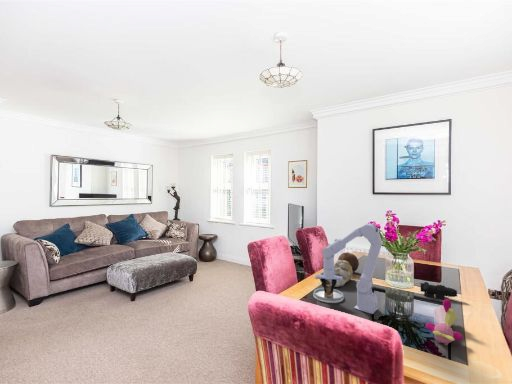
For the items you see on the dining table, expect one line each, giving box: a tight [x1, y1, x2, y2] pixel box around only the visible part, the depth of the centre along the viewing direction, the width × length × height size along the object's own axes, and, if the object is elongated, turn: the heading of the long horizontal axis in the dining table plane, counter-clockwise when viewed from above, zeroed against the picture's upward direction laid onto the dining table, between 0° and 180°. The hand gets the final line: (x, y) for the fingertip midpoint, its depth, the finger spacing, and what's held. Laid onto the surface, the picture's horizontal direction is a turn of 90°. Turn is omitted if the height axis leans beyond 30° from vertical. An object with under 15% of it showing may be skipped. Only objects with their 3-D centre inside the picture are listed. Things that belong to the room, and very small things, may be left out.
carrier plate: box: [312, 287, 344, 304], centre depth 152 cm, size 17×17×4 cm
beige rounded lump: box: [319, 259, 354, 288], centre depth 175 cm, size 16×15×26 cm
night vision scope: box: [419, 281, 458, 300], centre depth 152 cm, size 8×18×10 cm
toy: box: [425, 298, 464, 346], centre depth 113 cm, size 12×12×30 cm
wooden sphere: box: [337, 251, 360, 273], centre depth 198 cm, size 15×15×15 cm
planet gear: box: [324, 285, 333, 298], centre depth 147 cm, size 5×5×6 cm
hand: (328, 292), depth 148 cm, fingers closed on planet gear, 3 cm apart
